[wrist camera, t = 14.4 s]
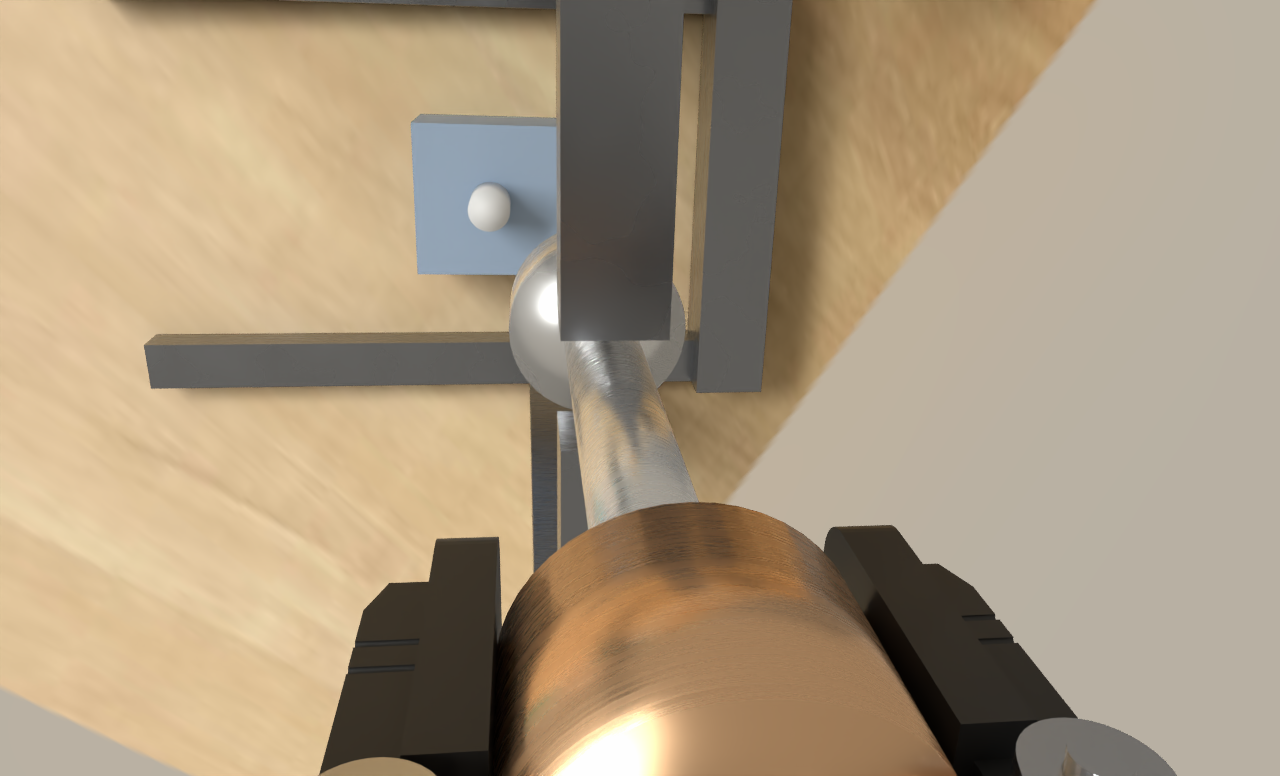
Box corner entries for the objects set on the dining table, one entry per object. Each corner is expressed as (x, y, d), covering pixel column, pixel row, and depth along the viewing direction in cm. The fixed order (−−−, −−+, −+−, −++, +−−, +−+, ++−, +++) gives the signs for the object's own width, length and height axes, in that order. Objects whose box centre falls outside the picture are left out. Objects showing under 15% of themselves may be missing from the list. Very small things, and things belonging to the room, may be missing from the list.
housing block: (421, 113, 40) (404, 128, 35) (562, 117, 41) (568, 132, 35) (427, 252, 42) (412, 286, 37) (560, 253, 43) (566, 287, 38)
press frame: (82, -121, 36) (-837, -418, 12) (780, -88, 39) (1202, -268, 15) (169, 417, 43) (-268, 907, 19) (743, 407, 47) (979, 818, 23)
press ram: (508, 224, 22) (474, 715, 6) (675, 225, 23) (1022, 686, 7) (511, 383, 24) (491, 1100, 8) (668, 380, 24) (945, 1053, 8)
